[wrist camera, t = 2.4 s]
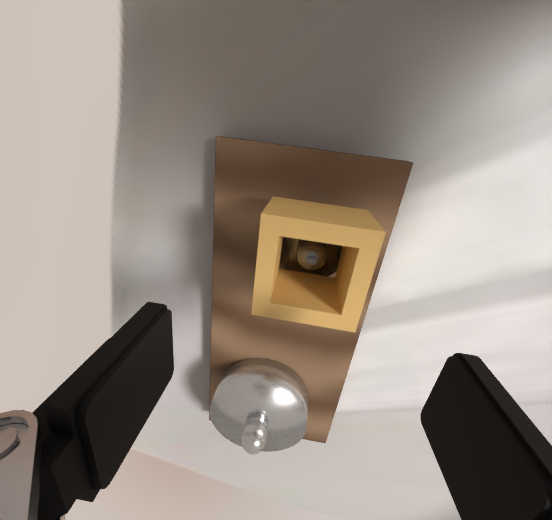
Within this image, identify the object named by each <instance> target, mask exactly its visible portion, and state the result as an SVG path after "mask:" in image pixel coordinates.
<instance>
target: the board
mask: <svg viewBox="0 0 552 520" xmlns="http://www.w3.org/2000/svg"><path fill="white" fill-rule="evenodd" d="M412 165H413V162H408V161H402V160H394V159H386V158H379V157H371V156H364V155H356V154H349V153H341V152H334V151H326V150H318V149H311V148H303V147H296V146H288V145H281V144H273V143H266V142H258V141H251V140H243V139H235V138H228V137H217V136H216V154H215V197H214V240H213V282H212V325H211V368H210V405H211V402H212V399H213V397H214V394H215V391H216V389H217V386H218V384H219V381H220V378H221V376H222V374H223V372H224V371H225V370H226V368H227V367H229V366H230V365H231V364H233V363H235V362H237V361H239V360H242V359H246V358H268V359H272V360H275V361H278V362H281V363H283V364H285V365H287V366H289V367H290V368H292V369H293V370H294V371H295V372H296V373H298V374H299V376H300V377H301V378H302V379H303V381H304V383H305V385H306V387H307V392H308V407H307V430H306V432H305V434H304V436H303V438H302V439H306V440H311V441H316V442H321V443H326V439H327V436H328V433H329V430H330V427H331V424H332V420H333V417H334V414H335V411H336V408H337V404H338V401H339V398H340V395H341V392H342V388H343V385H344V382H345V379H346V376H347V372H348V369H349V366H350V363H351V360H352V356H353V353H354V350H355V347H356V344H357V341H358V337H359V334H360V331H361V328H362V325H363V321H364V318H365V315H366V312H367V309H368V305H369V302H370V299H371V296H372V293H373V289H374V286H375V283H376V280H377V277H378V274H379V270H380V267H381V264H382V261H383V258H384V254H385V251H386V248H387V245H388V242H389V238H390V235H391V232H392V229H393V226H394V222H395V219H396V216H397V213H398V210H399V207H400V203H401V200H402V197H403V194H404V191H405V187H406V184H407V181H408V178H409V175H410V171H411V168H412ZM273 196H274V197H281V198H288V199H295V200H302V201H309V202H316V203H322V204H329V205H336V206H343V207H350V208H357V209H364V210H368V211H369V212H370V213H371V215H372V216H373V217H374V218H375V219H376V221H377V222H378V223H379V224H380V226H381V227H382V228H383V229H384V230H385V232H386V233H385V237H384V240H383V243H382V247H381V250H380V253H379V256H378V260H377V263H376V266H375V270H374V273H373V276H372V279H371V283H370V286H369V289H368V293H367V296H366V299H365V302H364V306H363V309H362V312H361V316H360V319H359V322H358V325H357V329H356V332H349V331H343V330H337V329H332V328H326V327H320V326H314V325H309V324H303V323H297V322H291V321H285V320H280V319H274V318H268V317H262V316H256V315H251V311H252V301H253V291H254V281H255V271H256V260H257V250H258V240H259V230H260V219H261V213H262V211H263V210H264V209H265V207H266V206H267V204H268V203H269V201H270V200H271V199H272V197H273ZM279 269H285V268H284V267H283V266H282V265H281V263H280V264H279ZM285 270H286V269H285ZM335 275H336V272H335V273H333V274H332V275H330V276H328V277H335ZM209 420H211V417H210V411H209ZM211 421H212V420H211Z"/></svg>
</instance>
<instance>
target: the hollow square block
mask: <svg viewBox="0 0 552 520" xmlns="http://www.w3.org/2000/svg"><path fill="white" fill-rule="evenodd" d="M385 233H386V232H385V230H384V229H383V228H382V227H381V226H380V224H379V223H378V222H377V221H376V219H375V218H374V217H373V216H372V215H371V213H370V212H369V211H368V210H364V209H357V208H350V207H343V206H336V205H329V204H322V203H316V202H309V201H302V200H295V199H288V198H281V197H274V196H273V197H272V199H271V200H270V201H269V203H268V204H267V206H266V207H265V209H264V210H263V211H262V213H261V219H260V230H259V240H258V250H257V260H256V271H255V281H254V291H253V301H252V311H251V315H256V316H262V317H268V318H274V319H280V320H285V321H291V322H297V323H303V324H309V325H314V326H320V327H326V328H332V329H337V330H343V331H349V332H356V329H357V325H358V322H359V319H360V316H361V312H362V309H363V306H364V302H365V299H366V296H367V293H368V289H369V286H370V283H371V279H372V276H373V273H374V270H375V266H376V263H377V260H378V256H379V253H380V250H381V247H382V243H383V240H384V237H385ZM283 237H289V238H295V239H302V240H308V241H315V242H321V243H328V244H334V245H341V246H342V250H341V255H340V259H339V263H338V267H337V271H336V275H335V277H328V276H322V275H316V274H310V273H304V272H297V271H291V270H285V269H279V264H280V257H281V250H282V243H283Z"/></svg>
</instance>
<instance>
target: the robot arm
mask: <svg viewBox="0 0 552 520" xmlns="http://www.w3.org/2000/svg"><path fill="white" fill-rule="evenodd" d="M173 371H174V360H173V336H172V313H171V310H168V309H167V306H166V305H165V304H159V303H152V302H147V303H146V304H145V305H144V306H143V307H142V308H141V309H140V310H139V311H138V312H137V313H136V314H135V315H134V316H133V317H132V318H131V319H130V320H129V321H128V322H126V323H125V324H124V325H123V326H122V327H121V328H120V329H119V330H118V331H117V332H116V333H115V334H114V335H113V336H112V337H111V338H110V339H108V340H107V341H106V342H105V343H104V344H103V345H102V346H101V347H100V348H99V349H98V350H97V351H96V352H94V353H93V354H92V355H91V356H90V357H89V358H88V359H87V360H86V361H85V362H84V363H83V364H82V365H81V366H80V367H79V368H78V369H77V370H76V371H75V372H74V373H73V374H72V375H71V376H70V377H69V378H68V379H67V380H66V381H65V382H64V383H63V384H61V385H60V386H59V387H58V388H57V390H55V391H54V392H53V393H52V394H51V395H50V396H49V397H48V398H47V399H46V400H45V401H44V402H43V403H42V404H41V405H40V406H39V407H38V408H37V409H36V410H35V411H34V412H33V413H31V412H28V411H24V410H14V411H9V412H4V413H0V520H65V514H66V513H68V511H69V510H70V508H71V507H72V505H73V504H74V502H75V500H76V499H80V500H85V501H89V502H93V500H94V499H95V497H96V495H97V494H98V492H99V490H100V489H105V488H106V487H107V486H108V485H109V484H110V482H111V481H112V479H113V477H114V476H115V474H116V472H117V471H118V469H119V467H120V465H121V463H122V462H123V460H124V458H125V457H126V455H127V453H128V452H129V450H130V448H131V446H132V445H133V443H134V441H135V440H136V438H137V436H138V434H139V433H140V431H141V429H142V428H143V426H144V424H145V422H146V421H147V419H148V417H149V416H150V414H151V412H152V410H153V409H154V407H155V405H156V404H157V402H158V400H159V398H160V397H161V395H162V393H163V392H164V390H165V388H166V386H167V385H168V383H169V381H170V380H171V378H172V375H173ZM421 423H422V426H423V428H424V431H425V433H426V435H427V438H428V440H429V443H430V445H431V447H432V450H433V452H434V455H435V457H436V459H437V462H438V464H439V467H440V469H441V471H442V474H443V476H444V479H445V481H446V484H447V486H448V488H449V491H450V493H451V496H452V498H453V500H454V503H455V505H456V508H457V510H458V512H459V515H460V517H461V520H552V446H551V444H550V443H549V442H548V441H547V440H546V438H545V437H544V436H543V435H542V433H541V432H540V431H539V430H538V429H537V427H536V426H535V425H534V424H533V422H532V421H531V420H530V419H529V418H528V416H527V415H526V414H525V413H524V411H523V410H522V409H521V408H520V407H519V405H518V404H517V403H516V402H515V400H514V399H513V398H512V397H511V396H510V394H509V393H508V392H507V391H506V389H505V388H504V387H503V386H502V385H501V383H500V382H499V381H498V380H497V378H496V377H495V376H494V375H493V374H492V372H491V371H490V370H489V369H488V367H487V366H486V365H485V364H484V363H483V361H482V360H481V359H480V358H479V357H477V356H474V355H468V354H462V353H455V354H454V355H453V356H451V357H449V358H448V359H447V361H446V363H445V365H444V367H443V369H442V371H441V373H440V375H439V377H438V379H437V381H436V383H435V385H434V387H433V389H432V391H431V393H430V395H429V397H428V399H427V401H426V403H425V405H424V407H423V409H422V412H421Z"/></svg>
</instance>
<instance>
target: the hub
mask: <svg viewBox="0 0 552 520" xmlns="http://www.w3.org/2000/svg"><path fill="white" fill-rule="evenodd" d="M307 407H308V392H307V387H306V385H305V383H304V381H303V379H302V378H301V377H300V376H299V374H298V373H296V372H295V371H294V370H293V369H292V368H290V367H289V366H287V365H285V364H283V363H281V362H278V361H275V360H272V359H268V358H246V359H242V360H239V361H237V362H235V363H233V364H231V365H230V366H229V367H227V368H226V370H225V371H224V372H223V374H222V376H221V378H220V381H219V384H218V386H217V389H216V391H215V394H214V397H213V399H212V402H211V405H210V417H211V420H212V423H213V424H214V426H215V428H216V429H217V430H218V431H219V432H220V433H221V434H222V435H223V436H224V437H225V438H227V439H228V440H230V441H231V442H233V443H235V444H237V445H239V446H242V447H243V448H244V450H245V451H246V452H247V453H249V454H257V453H259V452H260V451H278V450H283V449H286V448H289V447H291V446H293V445H295V444H296V443H298V442H299V441H300V440H301V439H302V438H303V436H304V434H305V432H306V430H307Z"/></svg>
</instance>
